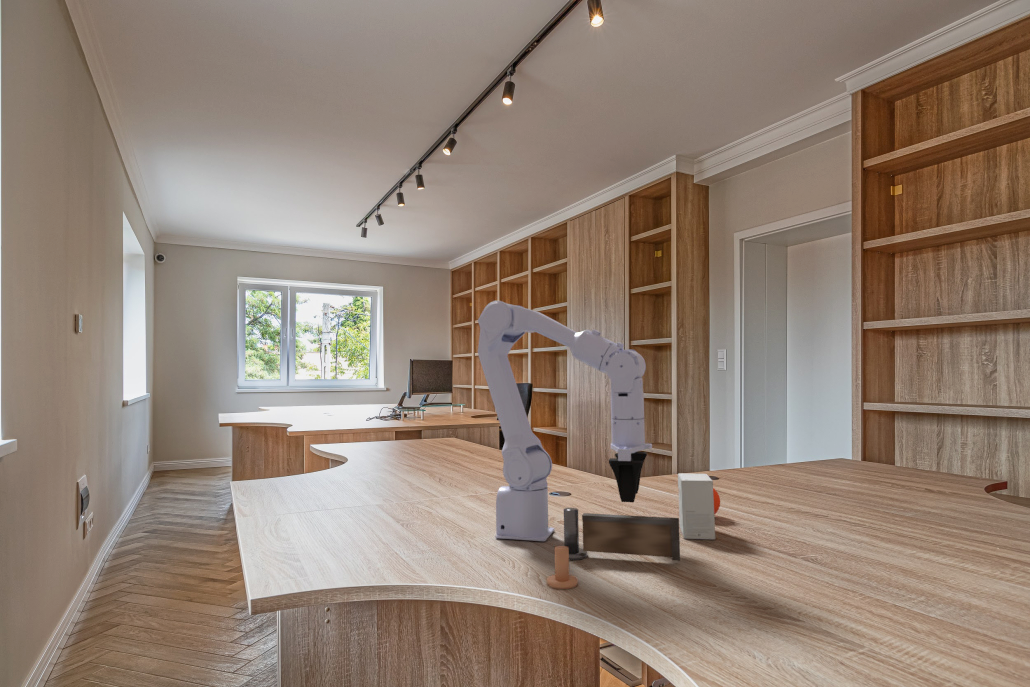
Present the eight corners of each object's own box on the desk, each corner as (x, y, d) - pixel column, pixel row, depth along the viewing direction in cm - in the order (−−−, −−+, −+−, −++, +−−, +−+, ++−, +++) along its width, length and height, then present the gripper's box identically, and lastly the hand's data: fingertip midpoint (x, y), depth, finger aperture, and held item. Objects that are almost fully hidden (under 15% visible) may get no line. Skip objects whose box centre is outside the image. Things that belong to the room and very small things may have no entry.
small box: (715, 540, 102) (713, 480, 102) (683, 539, 103) (681, 480, 103) (709, 528, 109) (707, 473, 110) (679, 527, 111) (677, 472, 111)
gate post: (553, 558, 93) (552, 512, 93) (560, 549, 98) (559, 505, 98) (584, 561, 91) (583, 513, 92) (589, 551, 96) (588, 506, 97)
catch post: (543, 587, 80) (543, 551, 81) (550, 576, 85) (550, 542, 85) (574, 590, 79) (573, 553, 79) (580, 579, 83) (579, 544, 84)
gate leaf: (582, 554, 93) (582, 515, 94) (584, 551, 95) (583, 513, 95) (680, 561, 89) (678, 520, 89) (680, 557, 90) (678, 518, 91)
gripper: (648, 422, 92) (651, 507, 91) (653, 415, 106) (655, 490, 105) (604, 421, 94) (606, 505, 93) (614, 415, 108) (616, 488, 107)
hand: (629, 497), depth 99 cm, fingers open, 6 cm apart
